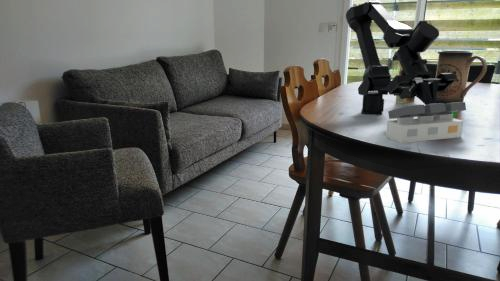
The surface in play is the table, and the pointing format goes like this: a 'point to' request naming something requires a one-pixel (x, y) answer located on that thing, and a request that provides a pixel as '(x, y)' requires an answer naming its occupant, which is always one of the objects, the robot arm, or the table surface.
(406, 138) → the power strip
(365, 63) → the robot arm
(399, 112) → the rocker
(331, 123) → the table surface
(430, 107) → the rocker
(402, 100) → the candy box
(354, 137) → the table surface
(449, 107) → the rocker
